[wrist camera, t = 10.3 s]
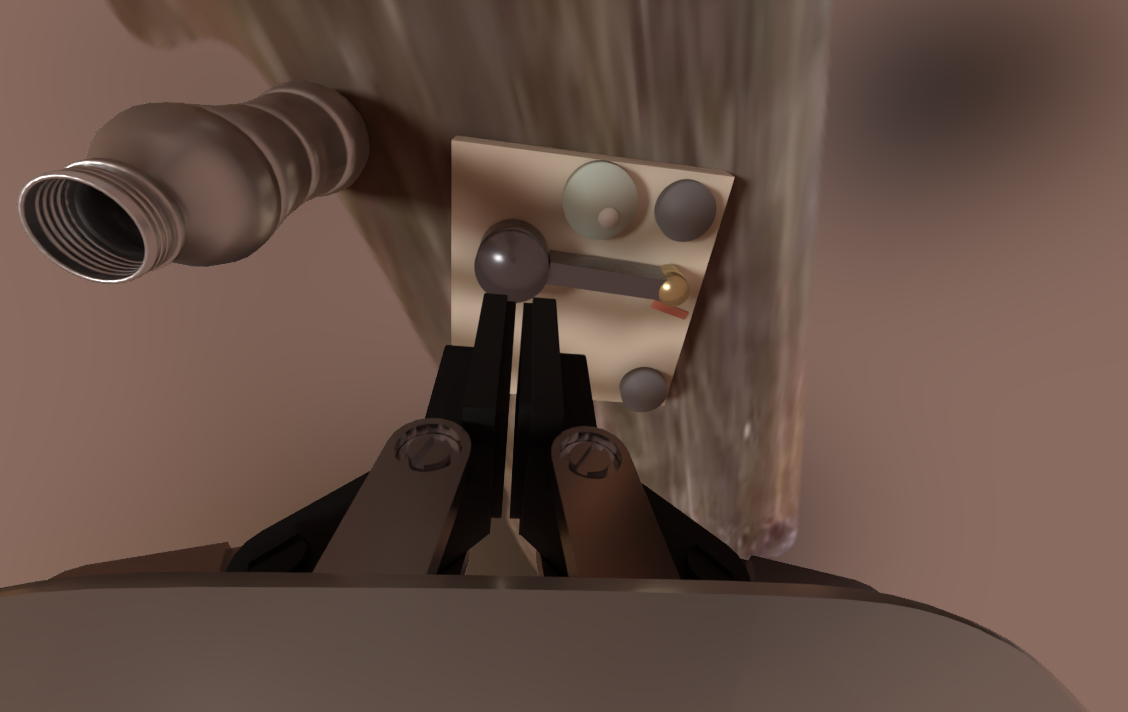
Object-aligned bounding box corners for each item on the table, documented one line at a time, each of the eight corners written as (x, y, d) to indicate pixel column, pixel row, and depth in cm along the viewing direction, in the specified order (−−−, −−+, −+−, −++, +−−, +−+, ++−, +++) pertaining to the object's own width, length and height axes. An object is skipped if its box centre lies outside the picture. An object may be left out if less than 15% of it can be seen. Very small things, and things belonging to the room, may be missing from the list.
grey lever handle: (476, 279, 35) (471, 297, 33) (482, 213, 33) (477, 227, 30) (670, 308, 37) (679, 326, 35) (690, 247, 35) (701, 263, 32)
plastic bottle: (398, 158, 33) (247, 274, 16) (319, 200, 34) (102, 349, 17) (336, 57, 29) (62, 70, 13) (251, 109, 31) (-99, 183, 14)
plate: (456, 135, 32) (448, 143, 29) (725, 170, 34) (741, 181, 31) (455, 375, 43) (448, 398, 40) (659, 392, 45) (667, 415, 42)
